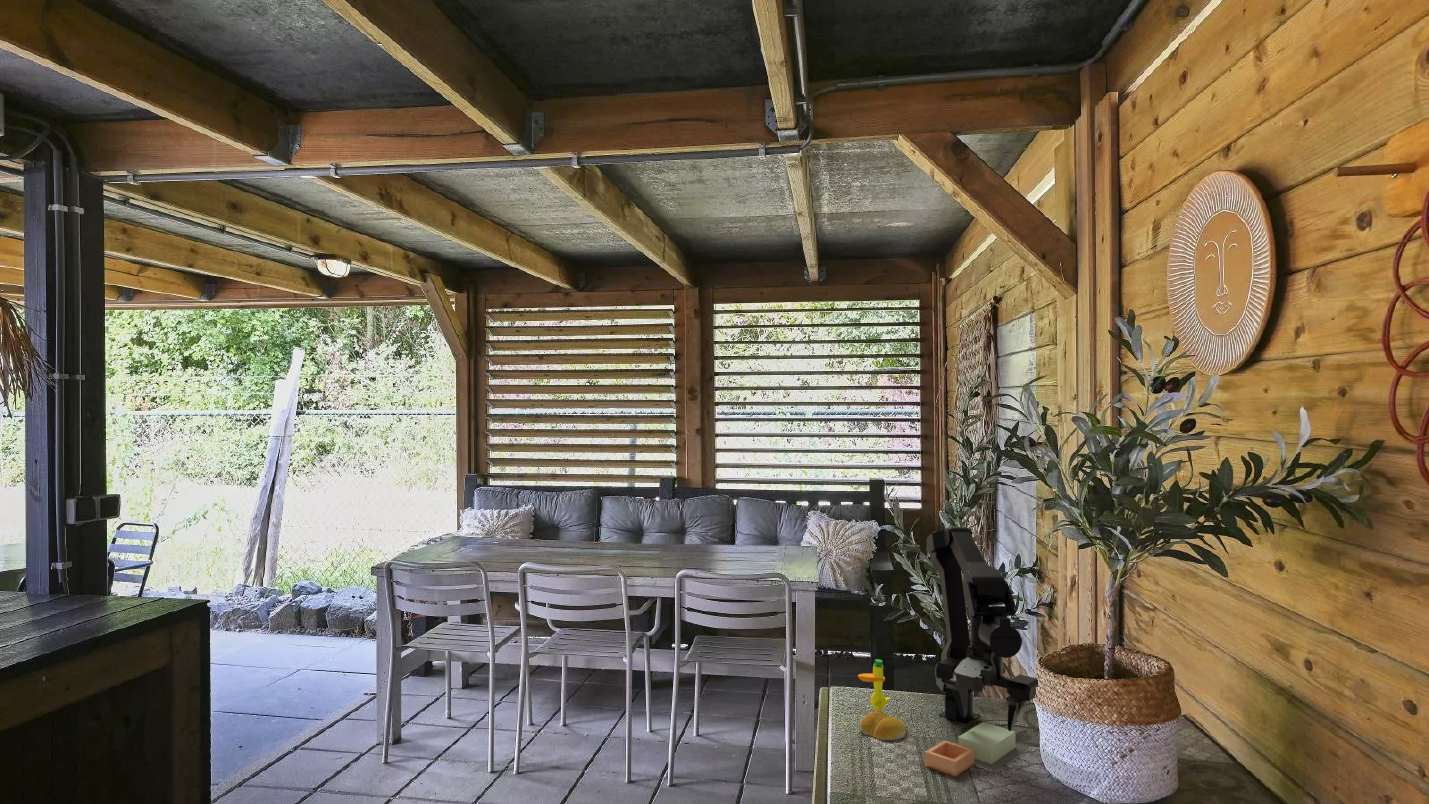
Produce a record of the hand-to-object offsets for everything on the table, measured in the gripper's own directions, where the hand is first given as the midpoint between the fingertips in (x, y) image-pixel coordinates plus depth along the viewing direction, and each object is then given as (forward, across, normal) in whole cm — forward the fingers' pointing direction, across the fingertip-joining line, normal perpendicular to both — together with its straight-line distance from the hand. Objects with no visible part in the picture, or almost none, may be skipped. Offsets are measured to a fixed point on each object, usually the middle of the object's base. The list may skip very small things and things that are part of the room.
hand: (986, 723), depth 150 cm
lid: (+5, 0, 0) cm, 5 cm away
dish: (+5, -2, -11) cm, 12 cm away
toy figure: (+6, -25, 0) cm, 26 cm away
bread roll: (+6, -19, -6) cm, 21 cm away
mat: (+5, 0, 0) cm, 5 cm away
